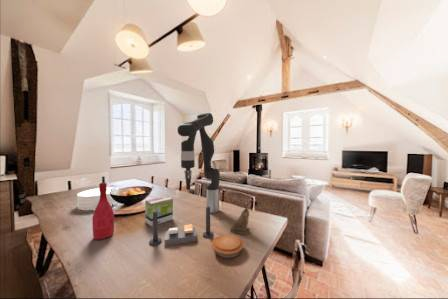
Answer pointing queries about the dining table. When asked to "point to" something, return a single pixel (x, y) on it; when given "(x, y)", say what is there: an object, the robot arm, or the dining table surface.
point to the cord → (155, 230)
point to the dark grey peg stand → (208, 224)
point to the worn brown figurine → (241, 223)
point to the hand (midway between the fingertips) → (188, 189)
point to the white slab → (172, 230)
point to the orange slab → (188, 229)
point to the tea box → (159, 209)
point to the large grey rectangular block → (180, 237)
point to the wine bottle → (103, 216)
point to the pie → (227, 245)
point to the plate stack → (92, 198)
